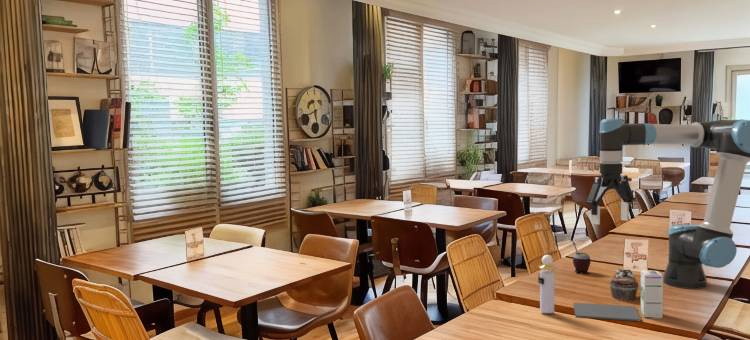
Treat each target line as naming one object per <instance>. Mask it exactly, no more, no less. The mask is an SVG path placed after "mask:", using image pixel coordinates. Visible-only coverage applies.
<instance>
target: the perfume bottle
mask: <svg viewBox="0 0 750 340" xmlns="http://www.w3.org/2000/svg"><path fill="white" fill-rule="evenodd" d="M553 258H554V257H552V255H550V254H544V255H543V256H542V258H541V263H542V264H538V265H537V266H538V269H540V271H539V274H538V276H537V277H538V282H537V283H538V284H539V311H540V312H541V313H544V314H553V313H555V270H556V269H557V265H555V264H553V263H554V259H553Z"/></svg>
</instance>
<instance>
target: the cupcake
mask: <svg viewBox="0 0 750 340" xmlns="http://www.w3.org/2000/svg"><path fill="white" fill-rule="evenodd" d="M609 286H610V293H611V298H613V299H614V298H615V299H614V300H617V299H618V300H619V301H623V300H627V301H626V302H628V301H629V300H632V301H635V300H636V297H637V293H638V289H639V288H640V287H639V282H638V281H637V279H636V275H635V274H634V273H633V271H632V270H631V269H616V270H615V274H614V275H613V276H612V278H611V281H610V283H609ZM629 302H630V301H629Z"/></svg>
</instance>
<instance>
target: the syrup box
mask: <svg viewBox="0 0 750 340" xmlns="http://www.w3.org/2000/svg"><path fill="white" fill-rule="evenodd" d="M663 275H664V274H662V273H661V272H660V271H658V270H652V269H649V270H647V269H646V270H645V269H644V270H640V313H641V314H643V315H642V316H643V318H645V317H652V318H651V319H663V310H664V309H663V307H664V306H663V304H664V303H663V302H664V300H663V297H664V296H663V295H664V293H663V291H664V289H663V288H664V287H663V286H664V285H663V283H664V282H663ZM653 317H654V318H653Z"/></svg>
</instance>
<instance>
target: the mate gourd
mask: <svg viewBox="0 0 750 340" xmlns="http://www.w3.org/2000/svg"><path fill="white" fill-rule="evenodd" d="M567 239H568V240H569V241H571V243H572V244H573V247H574V249H575V254H574V255H573V257H572V263H573V267H574V269H575V270H574V272H575V274H576V275H579V274H584V275H588V274H589V272H588V271H589V268H590V266H591V257H590V255H589V254H588V253H586V252H579V251H578V249H577V246H576V243H575V242H576V241H575V242H574V240H573V239H571V238H569V237H567Z"/></svg>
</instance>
